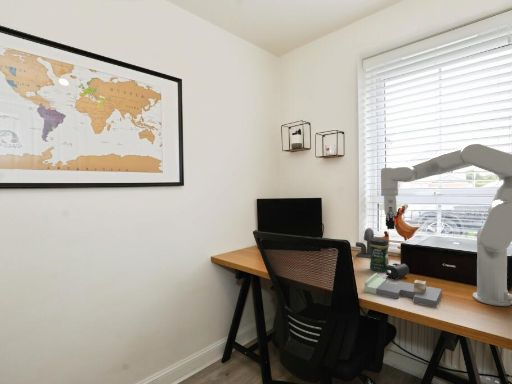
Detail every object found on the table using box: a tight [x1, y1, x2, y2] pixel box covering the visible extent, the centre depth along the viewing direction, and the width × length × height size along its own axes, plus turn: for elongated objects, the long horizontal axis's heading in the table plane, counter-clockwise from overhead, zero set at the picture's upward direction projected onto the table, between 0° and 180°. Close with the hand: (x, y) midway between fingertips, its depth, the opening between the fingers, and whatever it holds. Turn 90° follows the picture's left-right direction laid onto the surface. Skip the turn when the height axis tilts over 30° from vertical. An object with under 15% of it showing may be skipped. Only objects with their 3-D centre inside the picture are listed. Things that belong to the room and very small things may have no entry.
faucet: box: [355, 227, 375, 260], centre depth 188 cm, size 18×16×20 cm
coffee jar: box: [369, 236, 390, 273], centre depth 162 cm, size 10×8×19 cm
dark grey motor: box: [385, 263, 410, 281], centre depth 150 cm, size 10×7×7 cm
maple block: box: [413, 279, 427, 294], centre depth 124 cm, size 4×4×4 cm
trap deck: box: [364, 272, 443, 308], centre depth 129 cm, size 28×16×4 cm, turn 51°
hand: (390, 227), depth 141 cm, fingers open, 9 cm apart
